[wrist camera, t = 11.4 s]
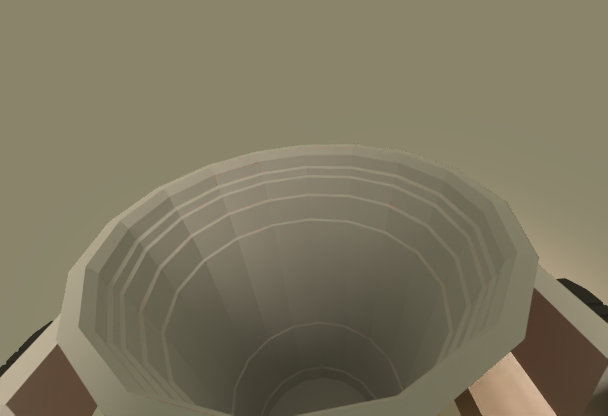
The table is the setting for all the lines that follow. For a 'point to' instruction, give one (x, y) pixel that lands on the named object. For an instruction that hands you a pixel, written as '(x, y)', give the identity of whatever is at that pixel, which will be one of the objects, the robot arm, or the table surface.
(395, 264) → the plastic cup
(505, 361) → the table surface
